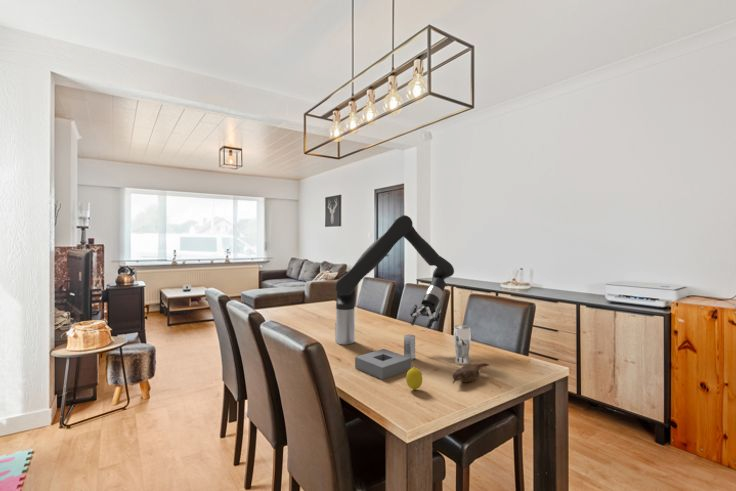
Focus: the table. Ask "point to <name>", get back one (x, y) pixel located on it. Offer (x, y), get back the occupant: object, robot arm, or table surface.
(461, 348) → the beer glass
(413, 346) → the steel bar
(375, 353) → the well block
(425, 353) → the table surface
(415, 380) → the lemon
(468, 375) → the bird sculpture
